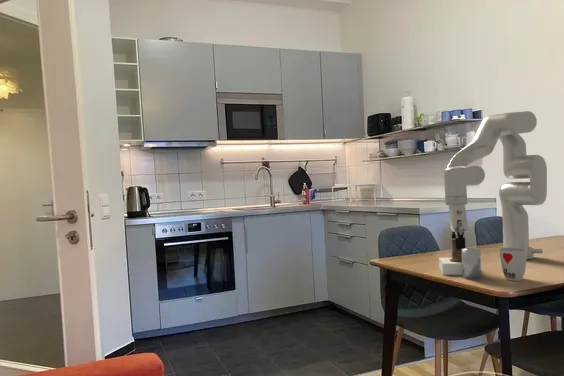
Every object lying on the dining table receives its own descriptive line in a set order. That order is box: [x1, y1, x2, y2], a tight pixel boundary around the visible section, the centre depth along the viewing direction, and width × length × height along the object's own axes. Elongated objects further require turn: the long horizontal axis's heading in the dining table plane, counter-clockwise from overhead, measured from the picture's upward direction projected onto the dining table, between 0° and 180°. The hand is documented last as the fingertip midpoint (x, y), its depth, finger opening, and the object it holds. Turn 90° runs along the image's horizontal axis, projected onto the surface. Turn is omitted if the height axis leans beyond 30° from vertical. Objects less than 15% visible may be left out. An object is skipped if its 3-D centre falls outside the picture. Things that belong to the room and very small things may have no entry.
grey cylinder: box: [461, 247, 482, 281], centre depth 150 cm, size 6×6×10 cm
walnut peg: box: [450, 237, 462, 262], centre depth 160 cm, size 4×4×12 cm
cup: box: [499, 247, 528, 282], centre depth 146 cm, size 8×8×10 cm
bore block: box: [438, 257, 462, 276], centre depth 160 cm, size 12×12×4 cm
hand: (458, 246), depth 161 cm, fingers open, 9 cm apart
